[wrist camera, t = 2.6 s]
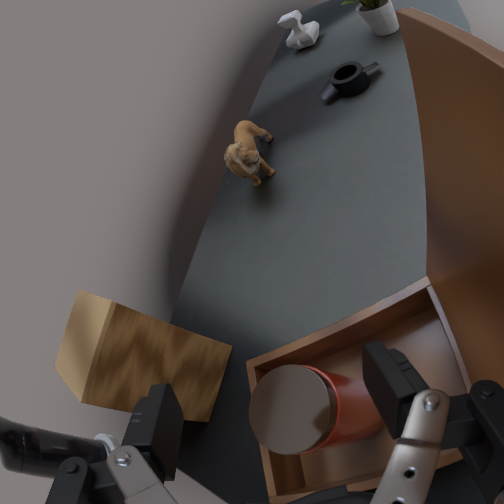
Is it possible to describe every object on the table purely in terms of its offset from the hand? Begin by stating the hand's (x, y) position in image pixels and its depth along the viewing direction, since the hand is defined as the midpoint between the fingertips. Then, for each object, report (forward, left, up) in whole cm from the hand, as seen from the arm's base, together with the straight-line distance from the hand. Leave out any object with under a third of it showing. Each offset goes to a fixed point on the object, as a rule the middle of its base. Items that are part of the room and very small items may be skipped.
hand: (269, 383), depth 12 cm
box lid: (+9, -3, -3) cm, 10 cm away
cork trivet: (-19, +16, -2) cm, 24 cm away
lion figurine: (+6, +37, -18) cm, 41 cm away
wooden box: (-1, 0, -18) cm, 18 cm away
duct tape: (+25, +36, -18) cm, 48 cm away
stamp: (+33, +60, -18) cm, 71 cm away
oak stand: (-19, +16, -18) cm, 30 cm away
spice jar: (-2, 0, -17) cm, 17 cm away
